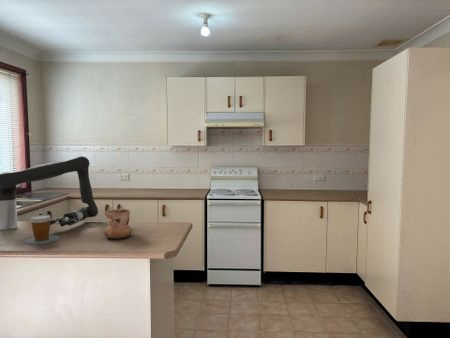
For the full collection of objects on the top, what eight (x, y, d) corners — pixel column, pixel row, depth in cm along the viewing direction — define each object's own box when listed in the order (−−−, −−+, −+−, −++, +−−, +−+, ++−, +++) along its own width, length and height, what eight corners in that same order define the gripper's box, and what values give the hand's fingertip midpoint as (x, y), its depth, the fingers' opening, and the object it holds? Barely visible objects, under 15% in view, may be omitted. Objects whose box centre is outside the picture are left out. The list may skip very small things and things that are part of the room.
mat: (17, 241, 166) (17, 241, 166) (47, 234, 180) (47, 233, 180) (36, 246, 159) (36, 245, 159) (66, 237, 173) (66, 237, 173)
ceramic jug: (119, 242, 164) (119, 215, 163) (96, 239, 169) (96, 212, 168) (140, 234, 181) (140, 208, 180) (118, 231, 186) (118, 206, 185)
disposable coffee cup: (36, 243, 162) (34, 219, 161) (28, 240, 168) (26, 217, 167) (55, 239, 170) (54, 216, 169) (47, 235, 176) (46, 214, 175)
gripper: (62, 211, 195) (42, 217, 179) (83, 211, 192) (65, 218, 176) (62, 223, 195) (42, 230, 179) (84, 224, 193) (65, 231, 177)
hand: (54, 224), depth 178 cm, fingers open, 8 cm apart
